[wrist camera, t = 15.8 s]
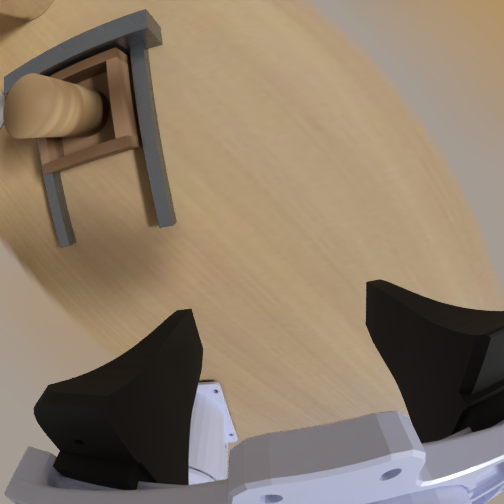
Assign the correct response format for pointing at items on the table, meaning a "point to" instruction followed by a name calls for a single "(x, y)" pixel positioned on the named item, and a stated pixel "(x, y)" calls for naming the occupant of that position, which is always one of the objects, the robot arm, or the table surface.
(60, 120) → the oak dowel
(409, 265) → the table surface
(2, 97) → the rook chess piece
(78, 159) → the walnut socket block
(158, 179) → the rail
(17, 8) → the cup with straw
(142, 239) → the table surface
